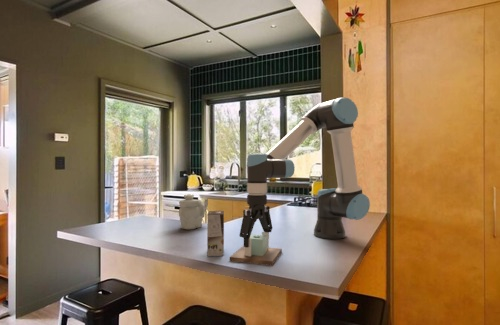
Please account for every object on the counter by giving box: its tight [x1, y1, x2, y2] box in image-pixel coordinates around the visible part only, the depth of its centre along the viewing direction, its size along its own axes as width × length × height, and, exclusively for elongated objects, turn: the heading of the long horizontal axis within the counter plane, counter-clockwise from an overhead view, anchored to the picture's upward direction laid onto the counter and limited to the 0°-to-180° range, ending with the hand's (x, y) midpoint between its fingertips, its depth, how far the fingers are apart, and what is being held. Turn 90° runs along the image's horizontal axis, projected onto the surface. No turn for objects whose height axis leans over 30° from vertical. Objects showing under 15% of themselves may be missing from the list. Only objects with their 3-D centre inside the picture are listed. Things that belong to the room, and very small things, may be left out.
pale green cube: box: [250, 233, 267, 256], centre depth 114 cm, size 6×6×6 cm
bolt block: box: [229, 245, 283, 267], centre depth 114 cm, size 16×16×6 cm
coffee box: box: [206, 210, 225, 257], centre depth 119 cm, size 9×6×16 cm
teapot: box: [178, 193, 209, 230], centre depth 167 cm, size 16×15×19 cm
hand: (256, 252), depth 114 cm, fingers closed on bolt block, 11 cm apart
